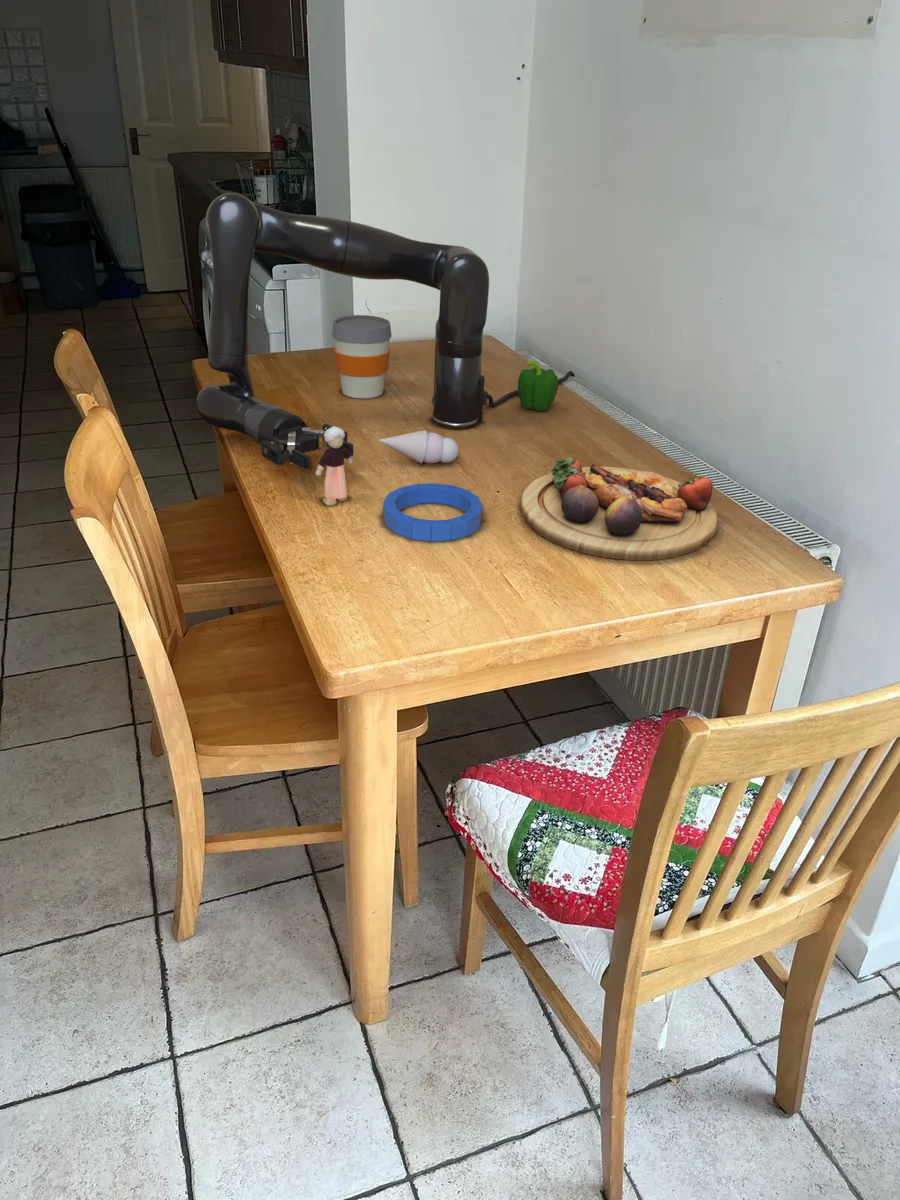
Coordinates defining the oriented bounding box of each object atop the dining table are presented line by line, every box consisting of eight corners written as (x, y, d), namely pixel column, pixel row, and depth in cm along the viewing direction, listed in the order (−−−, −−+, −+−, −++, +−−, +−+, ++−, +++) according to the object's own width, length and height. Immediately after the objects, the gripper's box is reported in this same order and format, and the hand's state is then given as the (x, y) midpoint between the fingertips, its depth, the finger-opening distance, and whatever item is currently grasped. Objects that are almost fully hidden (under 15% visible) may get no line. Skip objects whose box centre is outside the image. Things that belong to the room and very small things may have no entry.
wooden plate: (712, 490, 160) (721, 445, 156) (720, 576, 133) (732, 526, 129) (532, 469, 165) (536, 425, 161) (505, 548, 138) (509, 499, 134)
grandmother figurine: (331, 510, 148) (329, 436, 141) (313, 504, 149) (310, 430, 143) (360, 494, 153) (359, 422, 147) (342, 488, 155) (340, 417, 148)
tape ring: (447, 491, 155) (447, 476, 154) (500, 527, 144) (501, 511, 143) (366, 510, 148) (366, 494, 146) (416, 550, 137) (416, 533, 135)
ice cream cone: (373, 461, 165) (453, 472, 168) (378, 451, 159) (460, 463, 162) (376, 429, 166) (455, 441, 169) (381, 418, 160) (463, 430, 163)
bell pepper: (561, 406, 196) (566, 360, 190) (547, 417, 189) (551, 369, 184) (525, 398, 199) (529, 353, 194) (510, 409, 192) (513, 362, 187)
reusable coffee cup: (402, 390, 201) (403, 321, 193) (368, 405, 192) (367, 333, 184) (357, 379, 206) (356, 311, 198) (322, 393, 197) (319, 323, 189)
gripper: (237, 417, 152) (293, 445, 142) (308, 400, 161) (364, 426, 151) (241, 458, 156) (295, 489, 146) (309, 440, 165) (365, 468, 155)
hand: (330, 457), depth 148 cm, fingers open, 8 cm apart
